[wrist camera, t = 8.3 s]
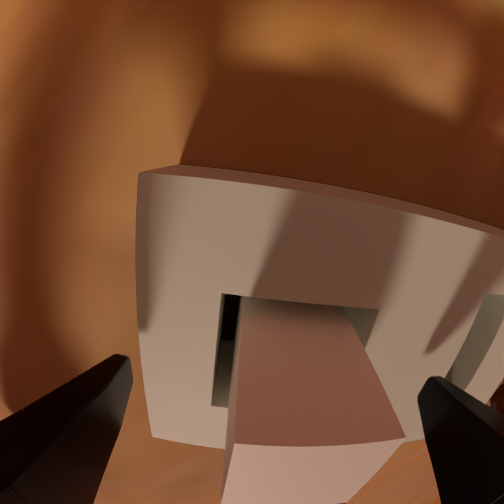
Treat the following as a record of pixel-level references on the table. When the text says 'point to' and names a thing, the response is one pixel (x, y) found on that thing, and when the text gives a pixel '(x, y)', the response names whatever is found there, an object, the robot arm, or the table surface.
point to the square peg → (302, 407)
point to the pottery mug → (498, 400)
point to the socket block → (308, 287)
